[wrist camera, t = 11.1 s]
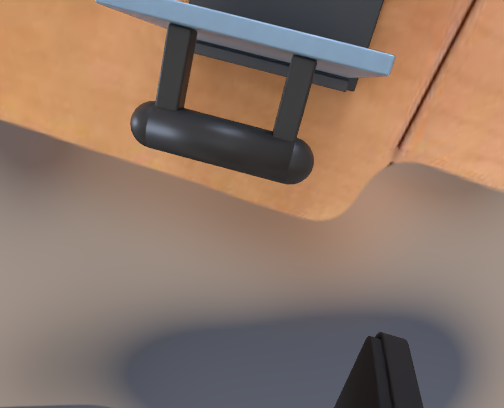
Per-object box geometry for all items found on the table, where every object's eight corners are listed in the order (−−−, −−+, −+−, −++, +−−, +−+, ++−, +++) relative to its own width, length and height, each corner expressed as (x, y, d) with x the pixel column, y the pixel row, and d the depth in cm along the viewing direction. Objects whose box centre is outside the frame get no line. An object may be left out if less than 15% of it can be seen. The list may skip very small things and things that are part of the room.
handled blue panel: (96, -20, 12) (79, 135, 14) (396, 55, 12) (345, 207, 13) (192, 26, 23) (177, 111, 24) (353, 66, 22) (327, 151, 24)
